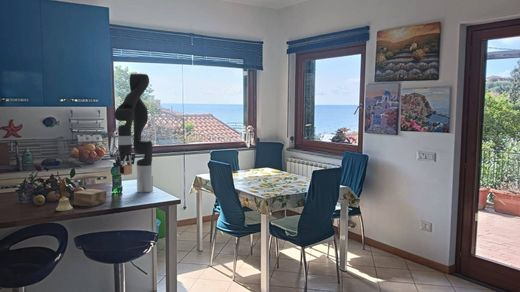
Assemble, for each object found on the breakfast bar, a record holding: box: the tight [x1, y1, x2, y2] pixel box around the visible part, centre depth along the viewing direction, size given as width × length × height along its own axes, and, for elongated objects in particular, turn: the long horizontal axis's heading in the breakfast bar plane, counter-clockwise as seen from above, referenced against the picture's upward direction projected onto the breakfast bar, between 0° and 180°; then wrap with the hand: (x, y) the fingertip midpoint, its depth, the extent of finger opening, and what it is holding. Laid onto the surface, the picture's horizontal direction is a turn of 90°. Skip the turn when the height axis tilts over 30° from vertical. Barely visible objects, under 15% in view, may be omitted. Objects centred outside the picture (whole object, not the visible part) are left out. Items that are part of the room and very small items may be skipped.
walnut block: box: [73, 188, 107, 208], centre depth 234 cm, size 12×12×7 cm
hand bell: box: [55, 178, 74, 212], centre depth 220 cm, size 8×8×16 cm
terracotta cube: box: [118, 164, 133, 176], centre depth 239 cm, size 5×5×5 cm
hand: (125, 172), depth 239 cm, fingers closed on terracotta cube, 5 cm apart
